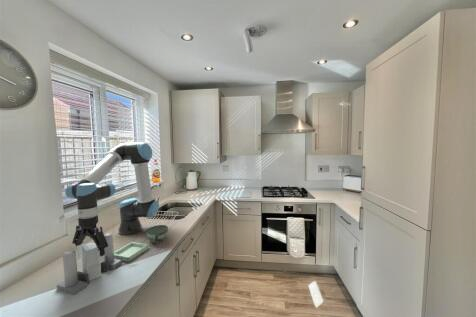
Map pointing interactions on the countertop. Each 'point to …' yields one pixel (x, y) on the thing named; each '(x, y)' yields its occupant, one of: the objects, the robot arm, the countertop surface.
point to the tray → (130, 251)
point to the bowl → (157, 233)
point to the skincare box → (90, 260)
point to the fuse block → (79, 280)
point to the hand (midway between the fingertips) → (90, 260)
